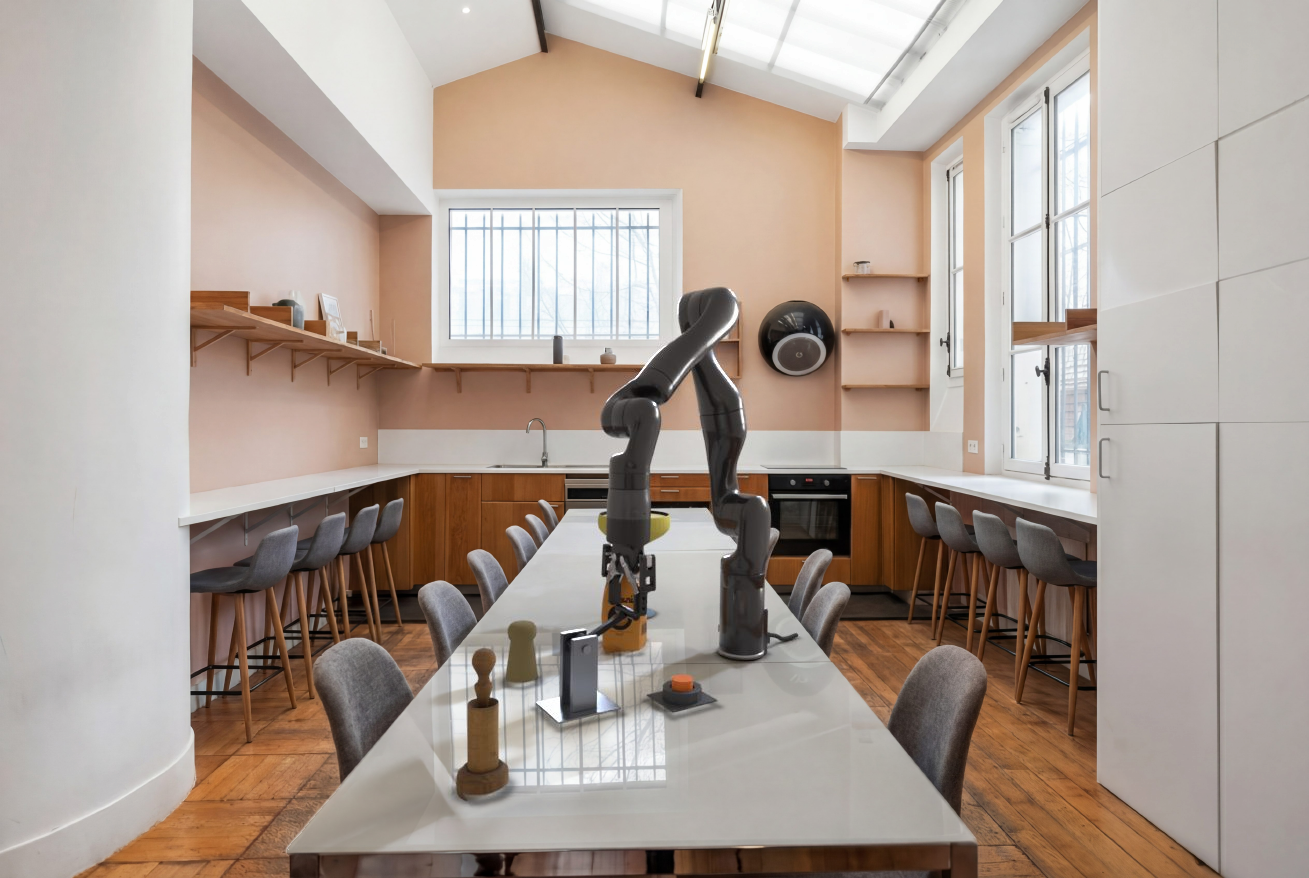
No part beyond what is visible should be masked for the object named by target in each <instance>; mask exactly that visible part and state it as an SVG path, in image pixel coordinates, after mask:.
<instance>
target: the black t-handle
mask: <svg viewBox="0 0 1309 878" xmlns="http://www.w3.org/2000/svg"><path fill="white" fill-rule="evenodd" d="M615 611H616V612H617V613H618V614H616V615H615V616H613V617H612V618H611V619H609V620H608V621H606V622H605V623H603V624H602V623H601V624H600V625H599V626H597V627H596V628H595V629H593V630H591V631H590V632H589V633H587V635H586V636H591V635H597V636H598V638H599V637H600V636H602V634H603V633H605V632H606V631H608V630H609V629H611V628H612V627H613V626H615V625H616V624H618V623H619V622H621V621H622V620H624V619H625V618H626V617H628V618H630V619H632V620H634V621H637V620H639V618H640V616H639V617H637V616H634V614H633V609H631V608H629V607H627V606H624V605H622V604H617V605H616V606H615ZM579 637H585V635H583V634H582V633H579V634H578V635H576V636H575V637H573V638H572V639H574V638H579ZM567 645H568V647H569V649H570V651H571V639H570V640H569V641H567Z"/></svg>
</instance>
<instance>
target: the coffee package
mask: <svg viewBox="0 0 1309 878" xmlns="http://www.w3.org/2000/svg"><path fill="white" fill-rule="evenodd" d="M638 574H639V573H638ZM619 582H620V583H621V603H620V604H622V605H624V606H627V607H629V608H631V609H633V601H634V594H635V593H634V590H633V587H632V584H631V583H630V582H628V580H627V577H626V576H625V575H623V577H622V579H621V581H619ZM637 582H638V585H639V581H637ZM608 589H609V583H607V581H606V582H605V584H604V589H603V594H602V595H603V596H602V602H601V615H600V618H601V625H602V624H603V623H605V622H606V621H608V620H609V619H611V618H612V617H613V616H615V615H616V614H618V613H617V612H616V611H615V606H616V605H610V604H609V603H608ZM601 636H602V639H601V640H602V641H601V643H602V644H601V646H602V649H603V651H604V653H605V654H607V655H610V654H611V655H612V654H616V653H622V652H629V653H630V652H637V651H641V650H642V649H643V648H644V647H645V646H646V644H647V641H648V640H647V639H648V618H647V614H646V615H645V616H640V618H639V620H637V621H634V620H632V619H630V618H628V617H626V618H625V619H624V620H622V621H621V622H619V623H618V624H616V625H615V626H613V627H612V628H611V629H609V630H608V631H606V632H605V633H603V634H602V635H601Z"/></svg>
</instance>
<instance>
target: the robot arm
mask: <svg viewBox="0 0 1309 878" xmlns="http://www.w3.org/2000/svg"><path fill="white" fill-rule="evenodd" d="M740 311H741V309H740V304H739V300H738V298H737V295H736V294H735V292H734V291H733V290H731V288H728V287H726V286H715V287H708V288H702V289H698V290H693V291H689V292H686V293H683V295H681V297H680V298H679V301H678V304H677V320H678V325H679V330H680V335H678V336H677V337H676V338H674V339H673V340H671V341H670V342H669V343H667V344H666V345H664V346H663V347H662V348H660V349H659V350H658V351H657V352H656V353H655V354H653V356H652V357H650V359H649V360H648V362H647V363H646V364H645V365H644V366H643V368H642V369H641V371H640V372H639V373H638V375H637V376H635V377H634V378H633V379H632V380H630V381H629V382H628V383H626V384H625V385H623V386H622V387H621V388H619V389H618V390H617V391H615V392H614V393H613V394H612V395H611V396H610V397H609V398H608V399H607V400H606V402H605V403H604V405H603V407H602V408H601V411H600V417H599V418H600V426H601V429H602V430H603V432H604V433H605V434H606V435H607V436H609V437H611V438H614V439H624V440H625V439H626V440H627V439H628V443H627V445H626V449H625V450H624V451H622V452H618V453H615V454H613V455H612V456H611V457H610V459H609V463H608V491H607V499H606V511H607V522H606V535H605V540H606V542H607V543H603V544H602V553H601V573H600V574H601V577H602V578H605V580H606V581H607V583H609V589H608V603H609V604H610V605H617V604H620V603H621V583H620V582H619V581H621V579H622V577H623V575H625V576H626V577H627V580H628V582H630V583H631V584H632V587H633V590H634V593H635V594H634V601H633V614H634V616H637V617H639V616H645V615H646V614H647V609H648V594H649V593H651V592H656V590H657V561H656V559H657V558H656V557H657V556H656V554H654V553H653V554H652V553H651V554H646V553H645V546H646V545H648V544H650V543H651V542H650V530H651V510H652V498H651V489H650V488H651V465H652V461H653V457H654V454H655V449H656V446H657V442H658V440H659V436H660V432H661V428H662V414H661V410H660V408H659V407H662V406H663V405H665V404H666V403H668V402H669V401H670V400H671V398H672V397H673V395H674V394H675V393H676V391H677V390H678V389H679V387H680V386H681V384H682V383H683V381H684V380H685V379H686V378H687V376H688V375H689V374H690V372H691V376H692V381H693V386H694V391H695V396H696V403H697V409H698V410H697V411H698V416H699V422H700V429H701V433H702V437H703V441H704V448H705V455H706V463H707V467H708V477H709V488H710V503H711V513H712V520H713V522H714V525H715V527H716V529H717V530H718V532H719V533H720V534H722V535H725V536H728V537H733V538H737V545H736V549H735V550H734V551H733V552H730V553H726V554H724V555H722V556H721V557H720V562H719V563H720V564H719V569H720V570H719V571H720V572H719V616H718V617H719V624H718V625H717V626H718V627H717V629H718V630H717V631H718V648H717V649H718V651H717V652H718V654H719V655H720V656H722V657H724V658H726V659H731V660H736V661H752V660H758V659H761V658H762V657H764V655H766V654H768V644H771V638H773V639H777V640H778V641H781V642H787V641H791V640H793V639H795V638H798V637H799V634H798V633H797V632H794V633H791V634H789V635H786V636H782V635H781V634H779V633H775V632H770V631H769V608H768V607H767V606H765V599H766V598H765V595H766V594H765V593H766V592H765V591H766V585H765V584H766V565H767V561H768V558H769V554H770V541H771V528H772V513H771V508H770V505H769V502H768V500H767V499H766V498H765V497H763V496H761V495H759V494H752V493H744V492H741V491H740V487H739V481H738V472H737V471H738V469H737V468H738V461H739V459H740V456H741V453H742V450H743V448H744V445H745V441H746V439H747V435H748V421H747V415H746V409H745V403H744V399H743V396H742V394H741V392H740V391H739V389H738V388H737V386H736V385H735V383H734V382H733V380H731V378H730V377H729V376H728V374H727V373H726V372H725V370H724V369H723V368H722V366H721V365H720V363H719V361H718V360H717V357H716V355H715V351H714V348H715V347H716V346H717V345H718V344H719V343H720V342H721V341H722V340H724V338H726V337H727V336H728V335H729V334H730V333H731V332H732V331H733V330H734V328H735V327H736V326H737V324H738V321H739V318H740ZM649 542H650V543H649ZM647 543H648V544H647ZM645 544H646V545H645ZM644 545H645V546H644ZM638 573H639V574H638ZM648 578H649V581H648ZM637 581H639V585H638V582H637Z"/></svg>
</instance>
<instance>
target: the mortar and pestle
mask: <svg viewBox="0 0 1309 878" xmlns="http://www.w3.org/2000/svg"><path fill="white" fill-rule="evenodd" d="M496 662H497V656H496V654H495V652H494V650H493V649H491V648H486V647H481V648H479V649H477V650H476V651H475V652H473V655H472V657H471V665H472V668H473V670H474V671H475V674H476V675H477V681H476V682H475V683H474V685H473V686H474V688H473V689H474V692H475V697H476V698H473V699H470V700H469V701H468V702H467V704H466V706H467V707H466V709H467V710H466V712H467V713H466V719H467V720H466V722H467V723H466V725H467V727H466V728H467V730H466V731H467V733H466V735H467V740H466V741H467V742H466V743H467V744H466V745H467V749H466V751H467V754H466V755H467V756H466V757H467V759H466V762H465V763H464V764H463V766H461V767H460V768H459V769H458V770H457V772H456V789H455V790H456V794H457V796H458V798H460V799H461V800H464V801H467V802H468V799H467V798H466V797H465V795H471V796H480V795H481V796H482V795H488V794H492V793H495V792H497V791H499V790H502V789H503V788H504V787H505V786H506V785H507V784H508V783H509V778H510V777H509V766H508V764H507V763H506V762H504V761H503V760H501V759H500V757H499V755H500V751H499V747H500V746H499V744H500V743H499V740H500V739H499V738H500V737H499V736H500V735H499V731H500V730H499V729H500V728H499V726H500V725H499V723H500V722H499V717H500V715H499V714H500V713H499V712H500V702H499V700H498V699H497V698H495V697H491V694H492V690H493V686H494V685H493V682H492V681H491V679H490V676H491V673H492V671H493V669H494V667H495V665H496ZM464 794H465V795H464Z"/></svg>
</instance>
